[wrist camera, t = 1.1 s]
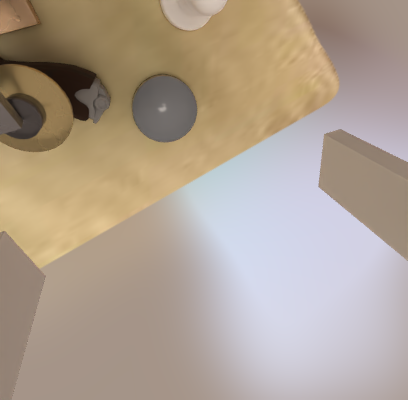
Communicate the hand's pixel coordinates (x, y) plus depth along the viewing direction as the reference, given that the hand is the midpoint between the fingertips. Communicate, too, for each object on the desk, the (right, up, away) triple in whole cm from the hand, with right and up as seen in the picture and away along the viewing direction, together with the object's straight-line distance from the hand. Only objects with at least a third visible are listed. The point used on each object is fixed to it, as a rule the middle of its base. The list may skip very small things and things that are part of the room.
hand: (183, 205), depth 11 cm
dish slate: (-4, +10, +18) cm, 21 cm away
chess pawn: (-1, +19, +13) cm, 23 cm away
